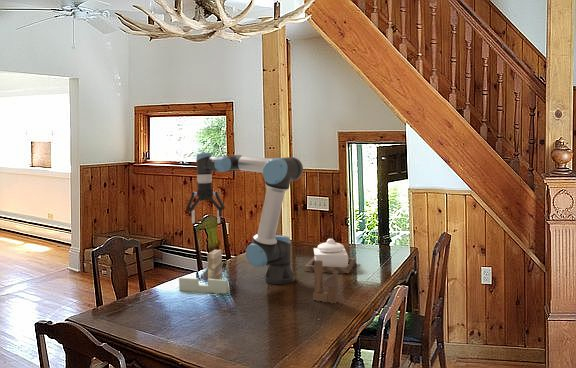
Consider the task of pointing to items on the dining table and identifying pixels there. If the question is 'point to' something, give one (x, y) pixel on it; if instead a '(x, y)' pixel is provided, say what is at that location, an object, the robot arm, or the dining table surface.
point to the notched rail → (194, 285)
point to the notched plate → (215, 264)
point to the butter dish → (331, 254)
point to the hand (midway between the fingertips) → (206, 223)
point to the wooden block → (325, 285)
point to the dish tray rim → (347, 269)
